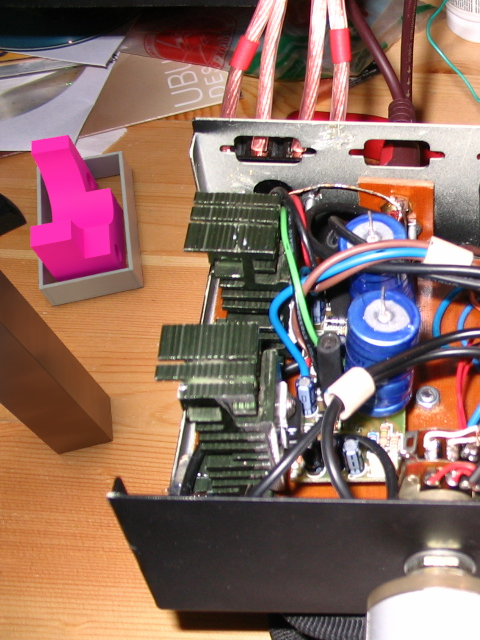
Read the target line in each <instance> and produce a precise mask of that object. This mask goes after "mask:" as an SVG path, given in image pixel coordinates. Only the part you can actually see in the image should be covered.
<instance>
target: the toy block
mask: <svg viewBox="0 0 480 640" xmlns="http://www.w3.org/2000/svg"><path fill="white" fill-rule="evenodd" d="M30 141H31V143H30V145H31V147H30V149H31V150H30V155H31V156H32V158H33V159H34V162H35V164H36V167H37V166H38V168H39V170H40V172H41V175H42V177H43V180H44V182H45V185H46V188H47V191H48V195H49V199H50V203H51V209H52V219H53V222H52V223H47V224H42V225H38V224H37V225H31V226H30V248H31V249H32V250H33V252H34V253H35V255H36V256H37V257H39V258H40V260H41V261H42V262H43V263H44V265H45V266H46V267H47V269H48V270H49V271H50V272H51V274H52V275H53V276H54V278H55V279H56V283H57V282H62V281H67V280H72V279H76V278H81V277H86V276H91V275H96V274H100V273H105V272H110V271H115V270H120V269H125V268H128V267H127V254H126V253H127V251H126V236H125V222H124V209H123V207H121V205H120V203H119V201H118V200H117V198H116V196H115V195H114V193H113V191H112V189H111V187H106V188H102V189H99V184H98V182H97V179H94V177H93V175H92V174H91V172H90V170H89V169H88V167H87V165H86V164H85V162H84V160H83V158H84V157H82V155H81V153H80V152H79V150H78V149H77V146H76V145H75V143H74V141H73V140H72V138H71V137H70V135H69V134H65V135H58V136H52V137H47V138H40V139H35V140H30Z"/></svg>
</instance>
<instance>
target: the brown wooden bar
mask: <svg viewBox="0 0 480 640" xmlns="http://www.w3.org/2000/svg"><path fill="white" fill-rule="evenodd" d="M0 404H1V406H3V407H4V408H5V409H6V410H7V411H8V412H9V413H11V415H13V416H14V417H15V418H16V419H17V420H19V421H20V423H22V424H23V425H24V426H25V427H26V428H28V430H30V431H31V432H32V433H33V434H35V435H36V436H37V437H38V438H39V439H40V440H41V441H42V442H43V443H44V444H46V445H47V447H49V448H50V449H51V450H52V451H54V453H56V454H57V455H61V454H64V453H68V452H72V451H77V450H80V449H85V448H89V447H93V446H96V445H101V444H106V443H111V442H113V440H114V439H113V426H112V425H113V424H112V411H111V397H110V396H109V394H108V393H107V392H106V391H105V389H103V387H102V386H101V385H100V384H99V383H98V381H97V380H96V379H95V378H94V377H93V376H92V374H91V373H90V372H89V371H88V370H87V368H86V367H85V366H83V364H82V363H81V361H79V360H78V359H77V357H76V356H75V355H74V354H73V352H72V351H71V350H70V349H69V347H68V346H66V344H65V343H64V342H63V341H62V340H61V338H60V337H59V336H58V335H57V333H55V332H54V330H53V329H52V328H51V327H50V325H49V324H48V323H47V322H46V321H45V320H44V319H43V318H42V316H41V315H40V314H39V313H38V312H37V310H36V309H35V308H34V307H33V306H32V304H30V302H29V301H28V300H27V299H26V298H25V297H24V295H23V294H22V293H21V291H19V289H18V288H17V287H16V286H15V285H14V284H13V283H12V282H11V280H10V279H9V278H8V276H7V275H5V273H4V272H3V271H2V270H1V269H0Z"/></svg>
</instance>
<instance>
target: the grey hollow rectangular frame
mask: <svg viewBox="0 0 480 640" xmlns="http://www.w3.org/2000/svg"><path fill="white" fill-rule="evenodd" d="M82 158H83V160H84V162H85V164H86V165H87V167H88V169H89V170H90V172H91V174H92V175H93V177H94V179H95V180H97V179H102V178H107V177H113V176H120V184H121V185H120V186H121V187H120V188H121V196H122V197H121V198H122V210H123V221H124V232H125V243H126V253H127V263H128V264H127V265H128V267H127V268H125V269H120V270H115V271H110V272H105V273H100V274H96V275H91V276H86V277H81V278H76V279H72V280H67V281H62V282H57V280H56V279H55V278H54V276H53V275H52V274H51V272H50V271H49V270H48V269H47V267H46V266H45V265H44V263H43V262H42V261H41V260H40V258H39V257H38V256H37V257H38V259H37V260H38V261H37V262H38V290H39V291H40V292H41V293H42V294H43V296H44V297H45V299H46V300H47V301H48V302H49V304H51V306H52V307H56V306H60V305H65V304H70V303H75V302H78V301H83V300H89V299H93V298H98V297H103V296H108V295H112V294H117V293H121V292H126V291H131V290H137V289H140V288H144V277H143V268H142V257H141V247H140V237H139V227H138V219H137V208H136V206H137V205H136V197H135V189H134V188H135V187H134V178H133V169H132V167H131V165H130V164H129V162H128V159H127V158H126V156H125V154H124V152H123V151H122V150H118V151H113V152H108V153H107V152H106V153H102V154H101V153H100V154H96V155H90V156H85V157H82ZM36 203H37V204H36V206H37V207H36V209H37V225H42V224H47V223H52V222H53V219H52V209H51V203H50V199H49V195H48V191H47V188H46V185H45V182H44V180H43V177H42V175H41V172H40V170H39V168H38V166H37V165H36Z"/></svg>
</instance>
